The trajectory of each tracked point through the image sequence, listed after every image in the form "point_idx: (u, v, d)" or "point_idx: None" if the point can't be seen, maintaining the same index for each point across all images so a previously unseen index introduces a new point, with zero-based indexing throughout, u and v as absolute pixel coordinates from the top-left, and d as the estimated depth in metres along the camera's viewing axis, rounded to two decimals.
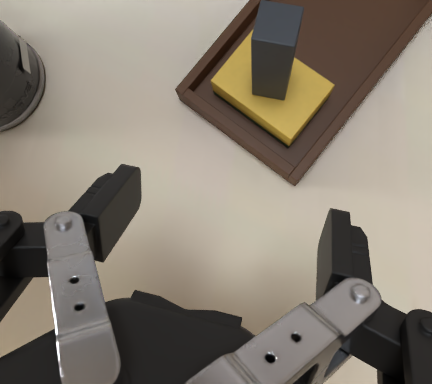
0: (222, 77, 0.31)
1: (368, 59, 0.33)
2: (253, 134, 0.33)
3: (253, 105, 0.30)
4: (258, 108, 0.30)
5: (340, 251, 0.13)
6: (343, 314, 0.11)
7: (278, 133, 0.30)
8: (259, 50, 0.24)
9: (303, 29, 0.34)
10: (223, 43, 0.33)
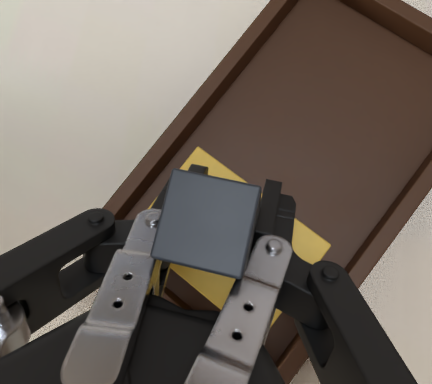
0: None
1: (383, 184, 0.21)
2: (204, 306, 0.21)
3: (197, 277, 0.18)
4: (205, 284, 0.18)
5: (265, 214, 0.14)
6: (270, 270, 0.12)
7: None
8: None
9: (281, 133, 0.22)
10: (154, 163, 0.21)
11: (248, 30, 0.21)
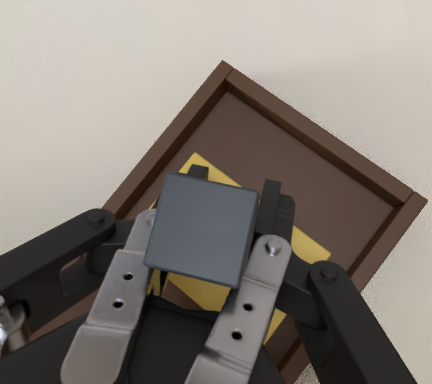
0: None
1: None
2: None
3: (194, 287, 0.18)
4: (201, 293, 0.18)
5: (264, 214, 0.14)
6: (269, 270, 0.12)
7: None
8: None
9: None
10: None
11: (153, 147, 0.20)
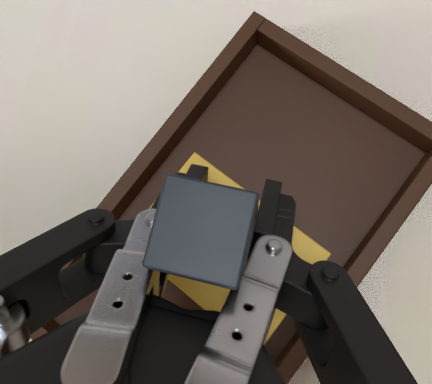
0: None
1: None
2: None
3: (193, 287, 0.18)
4: (201, 293, 0.18)
5: (265, 214, 0.14)
6: (270, 270, 0.12)
7: None
8: None
9: None
10: None
11: (187, 97, 0.21)
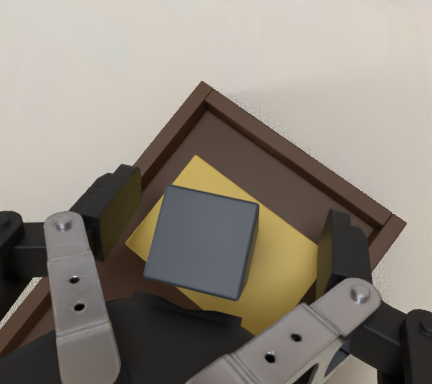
0: (145, 239, 0.18)
1: None
2: None
3: None
4: (203, 296, 0.18)
5: (340, 251, 0.13)
6: (343, 314, 0.11)
7: None
8: None
9: None
10: (28, 315, 0.20)
11: None
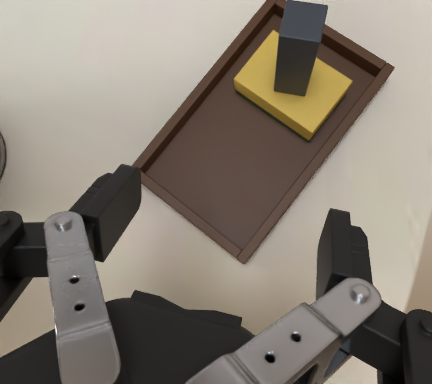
0: (245, 76, 0.32)
1: (315, 138, 0.34)
2: (204, 213, 0.33)
3: (275, 101, 0.32)
4: (280, 104, 0.32)
5: (340, 251, 0.13)
6: (343, 314, 0.11)
7: (299, 127, 0.32)
8: (285, 46, 0.25)
9: (253, 108, 0.35)
10: (174, 125, 0.34)
11: (232, 43, 0.34)
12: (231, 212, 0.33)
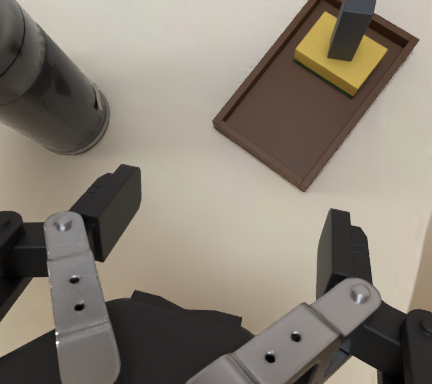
0: (304, 46, 0.42)
1: (357, 95, 0.43)
2: (271, 153, 0.43)
3: (328, 65, 0.41)
4: (332, 67, 0.41)
5: (340, 251, 0.13)
6: (343, 314, 0.11)
7: (347, 85, 0.42)
8: (346, 19, 0.35)
9: (307, 73, 0.44)
10: (247, 85, 0.43)
11: (292, 22, 0.44)
12: (293, 152, 0.43)
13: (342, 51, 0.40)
